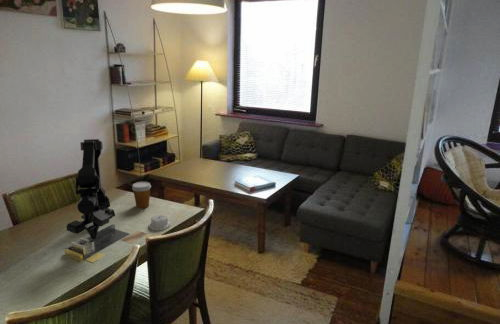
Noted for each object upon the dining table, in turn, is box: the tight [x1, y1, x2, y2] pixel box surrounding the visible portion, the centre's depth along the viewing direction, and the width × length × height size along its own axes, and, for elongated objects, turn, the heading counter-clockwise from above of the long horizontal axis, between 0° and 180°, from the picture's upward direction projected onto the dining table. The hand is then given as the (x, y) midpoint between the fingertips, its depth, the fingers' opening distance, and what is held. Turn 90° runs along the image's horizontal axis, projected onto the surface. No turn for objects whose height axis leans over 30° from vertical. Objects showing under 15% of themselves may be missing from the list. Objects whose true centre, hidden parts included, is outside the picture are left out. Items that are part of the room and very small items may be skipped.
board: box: [120, 230, 148, 244], centre depth 153 cm, size 6×10×1 cm, turn 153°
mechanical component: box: [148, 214, 172, 231], centre depth 164 cm, size 10×4×10 cm
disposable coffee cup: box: [131, 181, 152, 209], centre depth 183 cm, size 10×10×12 cm
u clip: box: [70, 237, 95, 257], centre depth 139 cm, size 7×5×4 cm
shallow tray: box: [63, 223, 130, 263], centre depth 147 cm, size 10×25×2 cm, turn 153°
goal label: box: [85, 252, 106, 264], centre depth 137 cm, size 4×6×1 cm, turn 153°
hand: (93, 238), depth 144 cm, fingers closed
